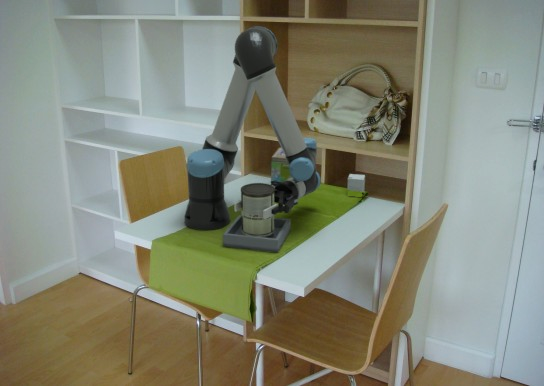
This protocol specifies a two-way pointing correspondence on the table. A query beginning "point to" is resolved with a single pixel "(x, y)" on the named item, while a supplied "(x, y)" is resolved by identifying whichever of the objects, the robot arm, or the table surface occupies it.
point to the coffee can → (257, 209)
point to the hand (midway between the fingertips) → (249, 211)
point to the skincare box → (356, 182)
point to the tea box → (279, 168)
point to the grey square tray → (268, 243)
